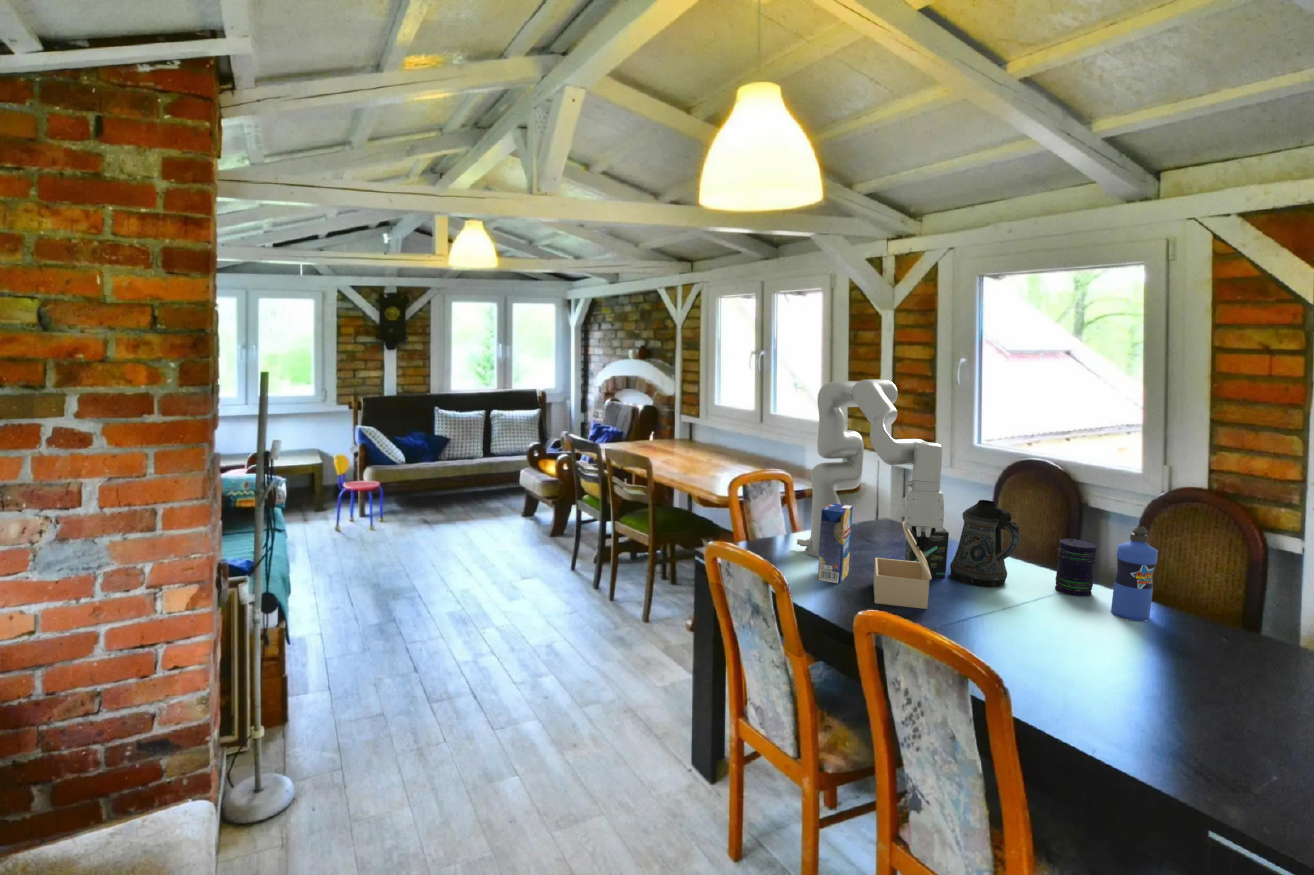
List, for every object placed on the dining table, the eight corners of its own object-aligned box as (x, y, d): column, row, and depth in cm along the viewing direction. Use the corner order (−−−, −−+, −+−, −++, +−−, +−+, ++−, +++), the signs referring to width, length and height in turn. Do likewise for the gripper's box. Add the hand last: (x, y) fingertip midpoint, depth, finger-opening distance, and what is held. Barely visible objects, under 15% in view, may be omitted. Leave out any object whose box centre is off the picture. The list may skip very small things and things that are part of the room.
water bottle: (1158, 621, 202) (1169, 531, 199) (1125, 621, 202) (1136, 531, 198) (1133, 608, 212) (1144, 522, 208) (1102, 608, 211) (1112, 522, 207)
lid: (905, 537, 206) (908, 535, 206) (902, 521, 223) (904, 520, 223) (929, 579, 206) (932, 578, 206) (924, 561, 223) (926, 560, 223)
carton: (874, 603, 210) (876, 575, 209) (873, 583, 228) (875, 557, 227) (927, 609, 207) (929, 581, 206) (922, 588, 224) (924, 562, 223)
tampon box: (938, 568, 244) (941, 525, 242) (946, 577, 235) (949, 532, 233) (903, 567, 245) (906, 523, 243) (910, 575, 236) (913, 530, 234)
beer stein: (953, 567, 246) (959, 493, 242) (1019, 578, 236) (1026, 501, 233) (945, 581, 231) (951, 502, 228) (1014, 593, 222) (1022, 511, 218)
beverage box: (848, 574, 236) (852, 505, 233) (839, 583, 226) (844, 512, 223) (826, 570, 239) (831, 502, 236) (817, 579, 229) (821, 509, 226)
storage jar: (1099, 596, 221) (1105, 547, 219) (1069, 597, 220) (1075, 548, 218) (1075, 585, 231) (1080, 538, 229) (1047, 586, 229) (1052, 538, 227)
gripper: (899, 487, 210) (895, 550, 212) (956, 490, 206) (951, 555, 209) (897, 482, 217) (893, 544, 219) (951, 485, 214) (947, 548, 216)
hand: (921, 549), depth 214 cm, fingers closed
